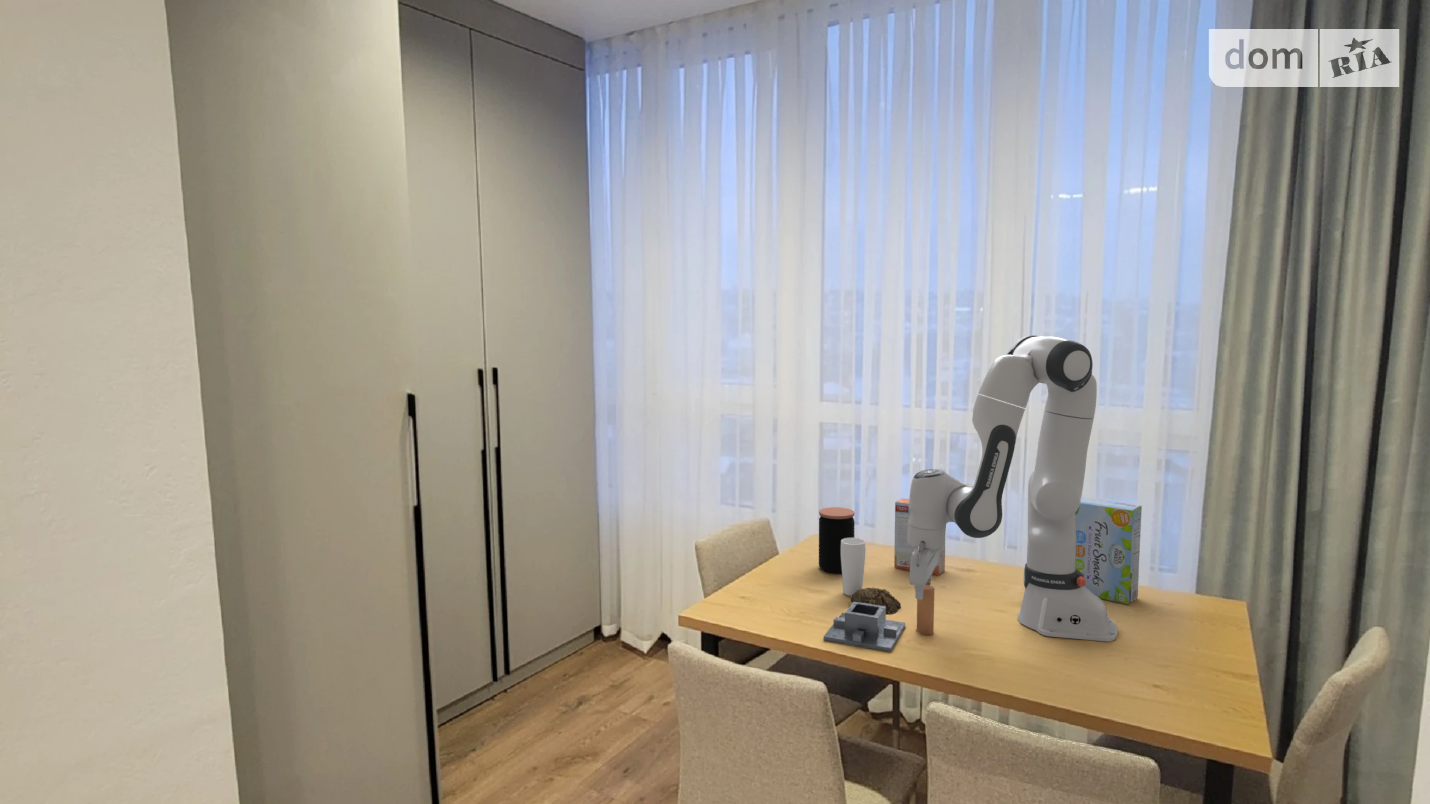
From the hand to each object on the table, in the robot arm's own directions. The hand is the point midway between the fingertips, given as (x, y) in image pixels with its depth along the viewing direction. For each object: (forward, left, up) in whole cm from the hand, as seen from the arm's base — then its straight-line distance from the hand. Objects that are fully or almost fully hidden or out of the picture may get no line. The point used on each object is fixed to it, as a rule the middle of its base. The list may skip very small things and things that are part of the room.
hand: (923, 591), depth 187 cm
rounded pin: (-1, 0, -10) cm, 10 cm away
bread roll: (+14, -13, -11) cm, 22 cm away
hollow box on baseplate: (+12, +7, -10) cm, 17 cm away
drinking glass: (+22, -18, -10) cm, 31 cm away
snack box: (-38, -46, -10) cm, 60 cm away
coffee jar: (+32, -36, -10) cm, 50 cm away
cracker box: (+9, -46, -10) cm, 48 cm away
